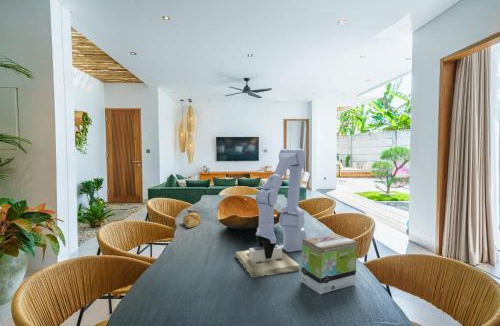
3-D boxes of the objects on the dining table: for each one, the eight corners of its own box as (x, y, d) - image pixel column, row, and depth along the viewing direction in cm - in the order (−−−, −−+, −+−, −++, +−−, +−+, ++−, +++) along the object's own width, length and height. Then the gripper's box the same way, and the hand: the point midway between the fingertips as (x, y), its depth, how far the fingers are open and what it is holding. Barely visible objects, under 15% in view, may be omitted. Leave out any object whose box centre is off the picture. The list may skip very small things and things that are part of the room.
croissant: (194, 235, 155) (201, 222, 155) (177, 227, 154) (184, 214, 154) (198, 224, 176) (204, 213, 176) (184, 216, 175) (190, 205, 175)
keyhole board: (276, 251, 121) (276, 246, 121) (299, 270, 102) (299, 264, 102) (235, 256, 115) (235, 251, 115) (252, 277, 96) (252, 272, 96)
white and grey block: (277, 259, 112) (277, 244, 112) (282, 262, 108) (282, 247, 108) (249, 263, 108) (249, 247, 108) (252, 267, 104) (252, 251, 104)
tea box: (321, 296, 84) (321, 247, 84) (300, 282, 93) (300, 238, 93) (356, 285, 91) (357, 240, 91) (334, 273, 100) (335, 232, 99)
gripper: (250, 217, 113) (249, 250, 114) (263, 227, 99) (263, 264, 100) (266, 216, 115) (266, 248, 116) (281, 225, 102) (281, 262, 102)
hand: (266, 256), depth 108 cm, fingers closed on white and grey block, 4 cm apart
